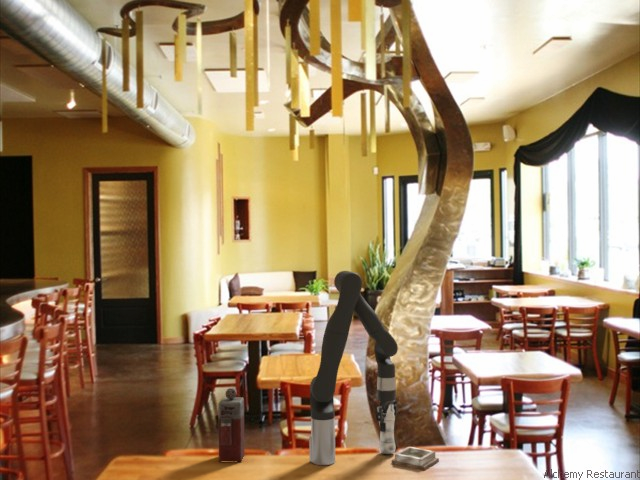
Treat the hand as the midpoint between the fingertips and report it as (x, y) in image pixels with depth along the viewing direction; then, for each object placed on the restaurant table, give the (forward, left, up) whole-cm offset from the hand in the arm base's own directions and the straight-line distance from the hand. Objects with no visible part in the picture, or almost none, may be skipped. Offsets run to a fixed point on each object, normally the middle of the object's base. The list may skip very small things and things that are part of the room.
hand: (387, 429), depth 255 cm
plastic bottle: (0, 0, -10) cm, 10 cm away
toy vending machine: (-48, -40, -10) cm, 63 cm away
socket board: (+14, -3, -10) cm, 17 cm away
